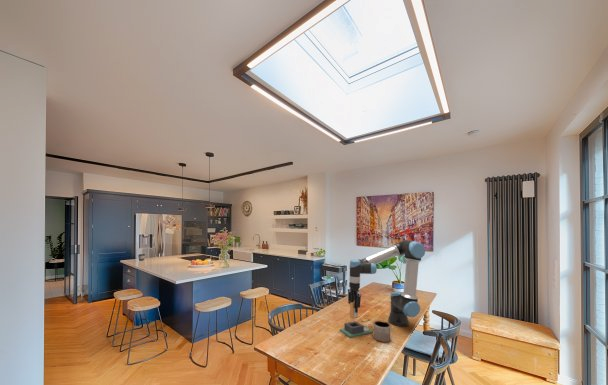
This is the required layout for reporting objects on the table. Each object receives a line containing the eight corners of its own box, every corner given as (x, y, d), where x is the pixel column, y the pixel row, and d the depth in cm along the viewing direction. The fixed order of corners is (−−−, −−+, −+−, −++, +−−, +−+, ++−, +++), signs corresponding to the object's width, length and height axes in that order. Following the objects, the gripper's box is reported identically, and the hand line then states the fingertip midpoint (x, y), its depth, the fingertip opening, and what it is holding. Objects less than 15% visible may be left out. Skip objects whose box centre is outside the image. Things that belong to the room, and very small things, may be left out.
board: (361, 326, 190) (362, 319, 191) (372, 333, 180) (372, 325, 180) (339, 330, 182) (339, 323, 182) (349, 338, 171) (349, 329, 172)
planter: (379, 343, 165) (379, 328, 166) (370, 335, 175) (370, 321, 176) (393, 341, 168) (393, 326, 169) (384, 334, 178) (384, 320, 179)
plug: (354, 316, 183) (355, 301, 184) (357, 317, 180) (357, 303, 181) (349, 317, 181) (350, 302, 182) (352, 318, 178) (352, 303, 179)
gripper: (343, 279, 189) (342, 312, 186) (357, 285, 174) (356, 321, 172) (352, 279, 192) (351, 311, 190) (366, 284, 178) (365, 319, 175)
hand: (353, 315), depth 181 cm, fingers closed on plug, 3 cm apart
